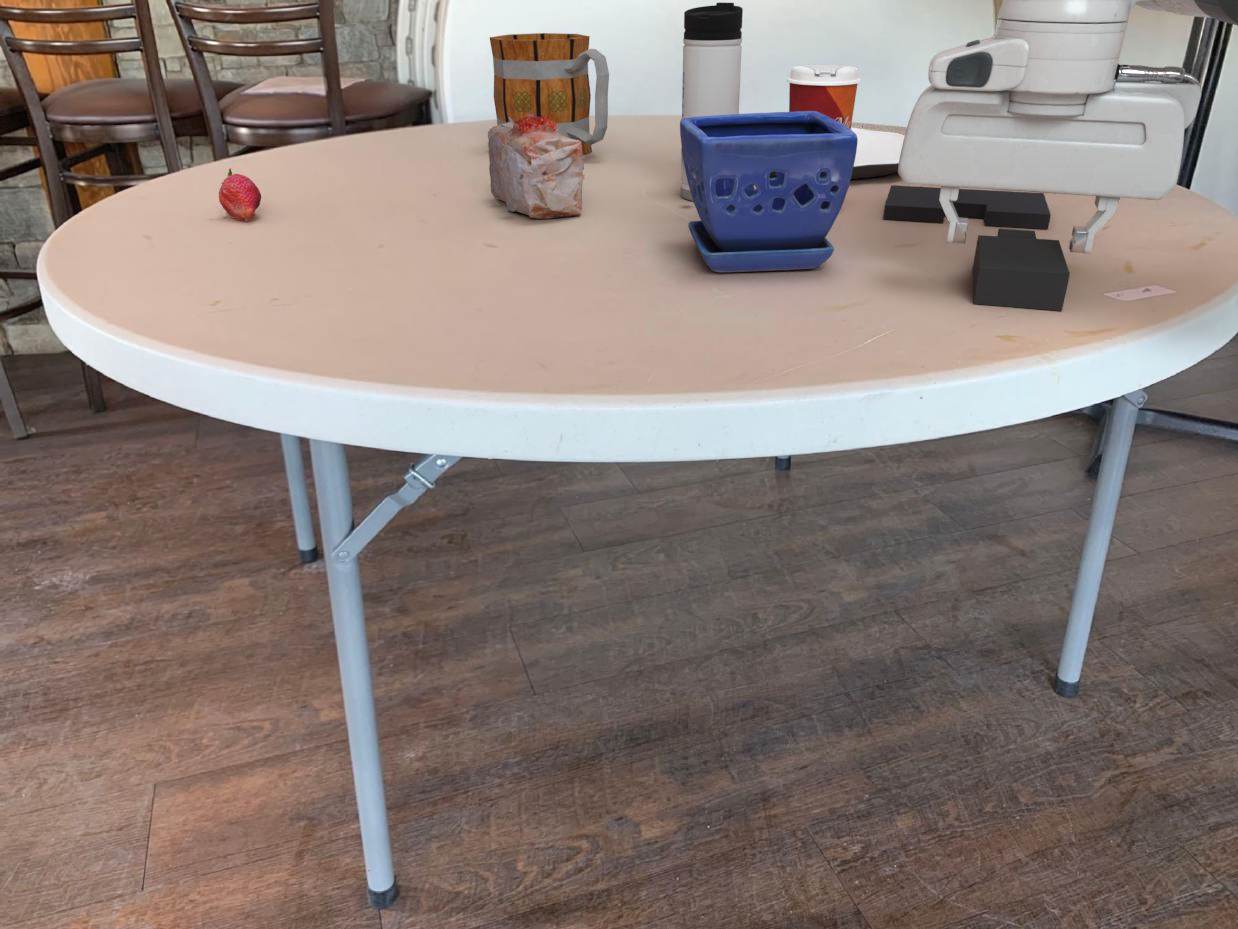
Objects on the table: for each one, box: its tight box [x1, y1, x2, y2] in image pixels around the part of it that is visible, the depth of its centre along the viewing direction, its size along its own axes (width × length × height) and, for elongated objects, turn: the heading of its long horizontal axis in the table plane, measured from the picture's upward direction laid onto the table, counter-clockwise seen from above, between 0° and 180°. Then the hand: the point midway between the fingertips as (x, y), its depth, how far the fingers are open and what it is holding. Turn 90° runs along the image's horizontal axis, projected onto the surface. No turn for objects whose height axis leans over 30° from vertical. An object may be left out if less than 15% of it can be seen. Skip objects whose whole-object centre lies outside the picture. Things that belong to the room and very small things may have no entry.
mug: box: [489, 32, 610, 156], centre depth 131 cm, size 20×14×15 cm
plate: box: [770, 127, 905, 180], centre depth 127 cm, size 29×29×2 cm
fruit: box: [218, 167, 262, 222], centre depth 103 cm, size 4×6×5 cm
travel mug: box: [680, 2, 744, 202], centre depth 106 cm, size 6×7×20 cm
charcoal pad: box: [882, 184, 1052, 230], centre depth 102 cm, size 16×10×2 cm, turn 72°
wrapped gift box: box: [487, 113, 586, 220], centre depth 104 cm, size 14×8×10 cm, turn 28°
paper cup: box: [786, 64, 862, 129], centre depth 104 cm, size 8×8×14 cm
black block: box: [972, 228, 1071, 312], centre depth 80 cm, size 6×13×3 cm, turn 162°
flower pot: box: [679, 111, 858, 273], centre depth 85 cm, size 13×13×12 cm
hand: (1016, 246), depth 78 cm, fingers open, 8 cm apart
